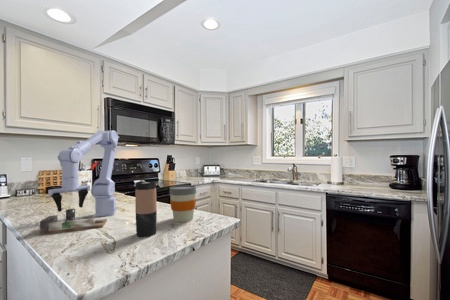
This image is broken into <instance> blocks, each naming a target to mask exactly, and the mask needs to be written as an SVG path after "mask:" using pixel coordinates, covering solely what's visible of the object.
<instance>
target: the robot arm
mask: <svg viewBox="0 0 450 300" xmlns="http://www.w3.org/2000/svg"><path fill="white" fill-rule="evenodd" d="M118 141H119V135H118V133H117V131H116V130H113V129H112V130H97V131H96V132H94V133H93V135H91V136H90V137H89V138H87V139H86V140H77V141H76V143H75V144H74V145H71V146H69V147H68V149H62V150H61V151H60V152H59V153H58V155H57V160H58V161H59V164H60V167H61V187H59V188H53V189H48V191H47V192H48V195H49V196H51V198H52V199H53V201H54V203H55V206H56V209H57V211H58V212H62V208H63V207H62V197H63V195H62V194H64V193H75V192H77V195H78V207H79V208H83V207H84V203H85V200H86V198H87V195H88V194H89V190H90V193H91V196H93V198H94V200H95V201H94V206H95V207H94V209H95V211H94V212H95V213H94V214H93V215H92V218H97V217H104V216H106V217H107V216H114V215H115V214H116V212H117V198H116V196H114V194H115V193H116V188H115V185H116V183H115V181H113V180H112V174H113V167H114V163H115V157H116V150H117V146H118V144H119V143H118ZM97 144H98V145H99V146H100V147H101V148H103V149H104V150H103V151H104V152H103V157H102V161H101V168H100V173H99V176H98V177H99V178H97V179H96V180H95V181H94V182H93V185H92V186H91V185H89V184H86V185H79V162H81V160H82V158H83V156H84V155H86V154H87V153H88V152H90V151H91V149H92V147H93V146H94V145H97Z"/></svg>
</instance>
